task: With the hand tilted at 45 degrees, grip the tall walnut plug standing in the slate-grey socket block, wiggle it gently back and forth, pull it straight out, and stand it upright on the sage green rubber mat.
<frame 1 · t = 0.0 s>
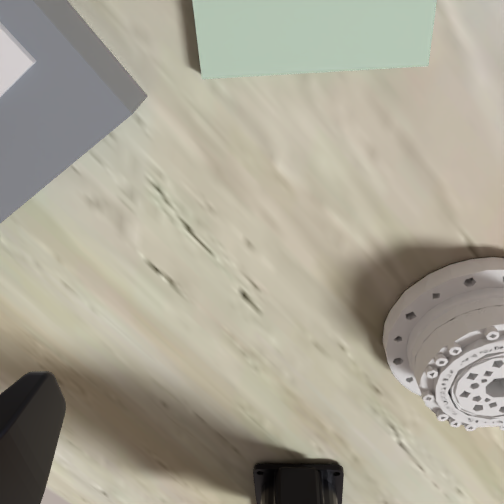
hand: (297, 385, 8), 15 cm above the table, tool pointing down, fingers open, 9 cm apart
mechanical component: (469, 323, 27), on the table
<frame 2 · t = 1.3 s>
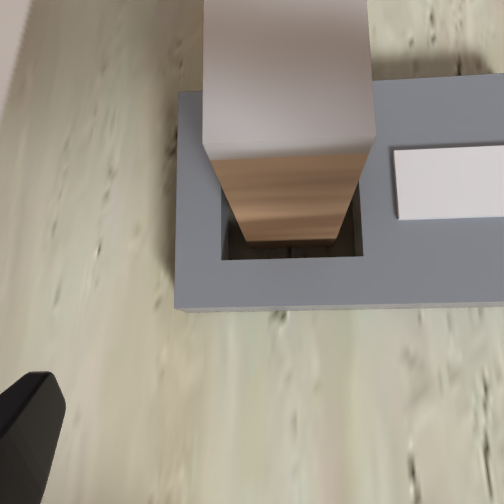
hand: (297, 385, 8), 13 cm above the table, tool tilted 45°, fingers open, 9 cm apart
socket block: (352, 204, 23), on the table
plug: (289, 207, 23), resting in socket block
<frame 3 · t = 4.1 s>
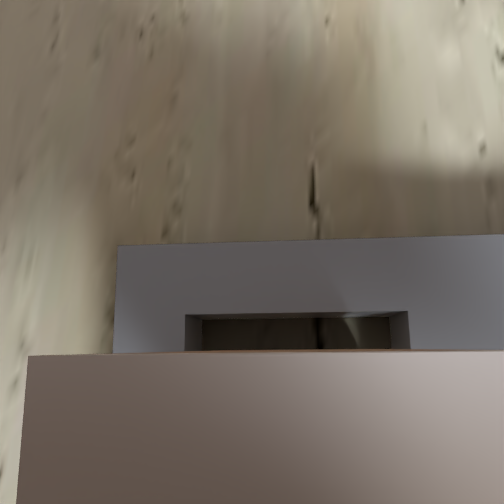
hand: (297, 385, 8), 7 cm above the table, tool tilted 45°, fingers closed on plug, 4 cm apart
socket block: (396, 416, 14), on the table
plug: (297, 415, 15), resting in socket block, touching gripper
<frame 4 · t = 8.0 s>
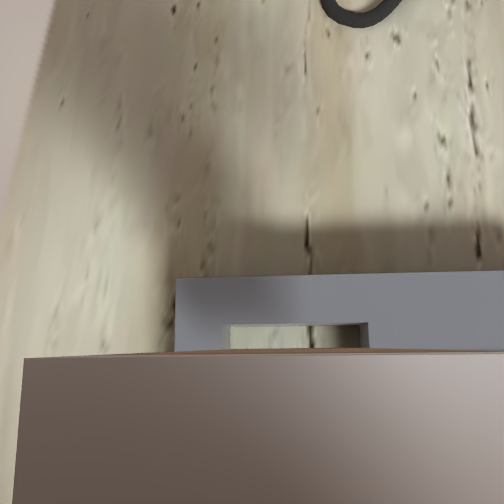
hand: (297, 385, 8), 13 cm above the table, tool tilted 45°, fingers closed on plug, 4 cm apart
socket block: (363, 392, 21), on the table
plug: (297, 414, 15), point 7 cm above the table, touching gripper
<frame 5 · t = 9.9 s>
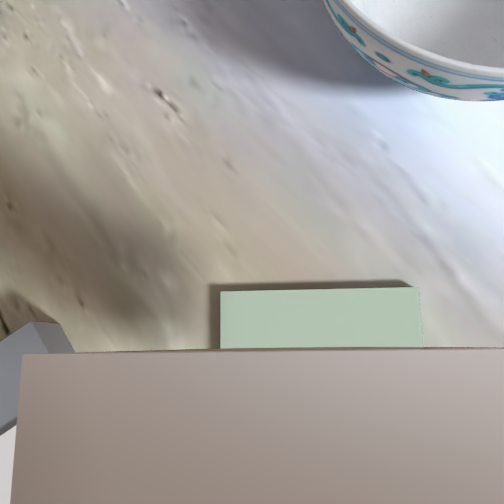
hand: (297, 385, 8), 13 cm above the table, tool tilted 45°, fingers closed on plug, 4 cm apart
mat: (321, 390, 21), on the table
chinaware: (443, 28, 25), on the table
plug: (296, 413, 15), point 7 cm above the table, touching gripper
when the fingers open (9 cm above the table, at t = 11.9 s): plug drops 1 cm, resting on mat.
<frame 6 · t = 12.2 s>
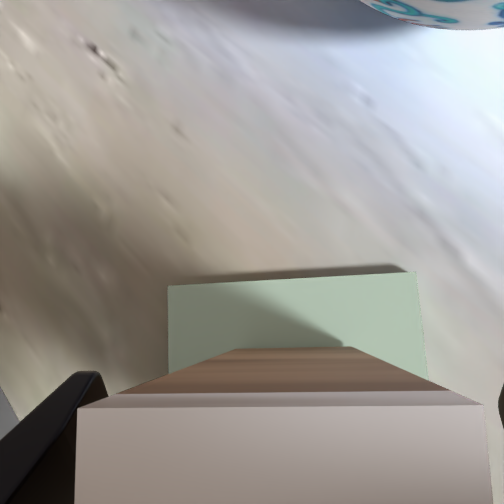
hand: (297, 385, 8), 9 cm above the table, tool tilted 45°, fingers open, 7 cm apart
mat: (297, 406, 17), on the table
plug: (295, 407, 16), point 1 cm above the table, touching mat
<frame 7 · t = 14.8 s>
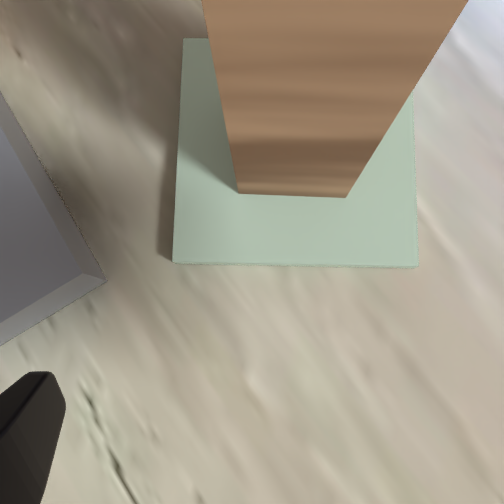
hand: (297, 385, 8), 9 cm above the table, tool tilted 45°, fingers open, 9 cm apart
mat: (294, 152, 19), on the table
plug: (293, 145, 18), point 1 cm above the table, touching mat
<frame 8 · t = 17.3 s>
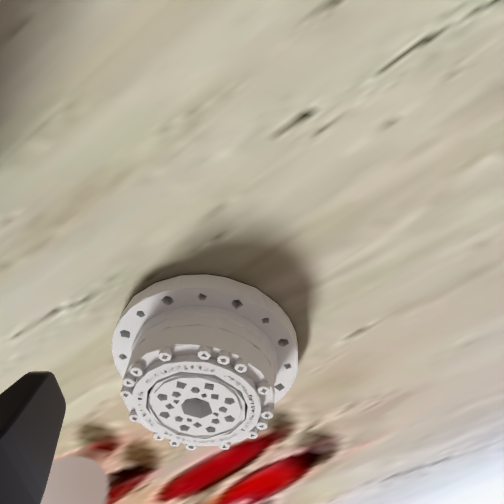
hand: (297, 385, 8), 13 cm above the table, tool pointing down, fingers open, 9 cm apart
mechanical component: (208, 340, 27), on the table
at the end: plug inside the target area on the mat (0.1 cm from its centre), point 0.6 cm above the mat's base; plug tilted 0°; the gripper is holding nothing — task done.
